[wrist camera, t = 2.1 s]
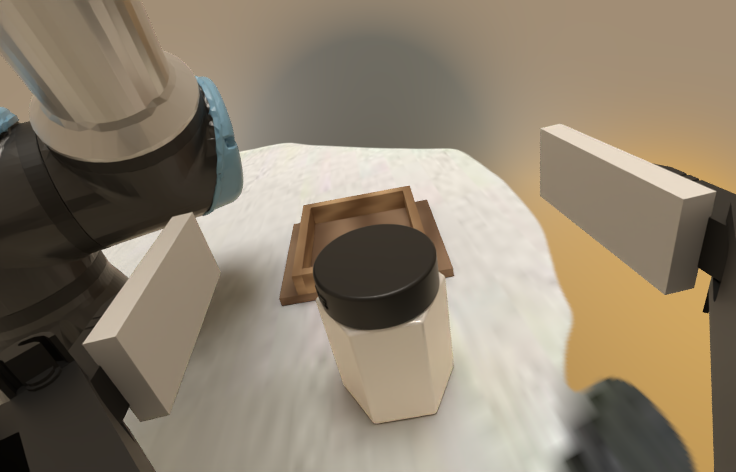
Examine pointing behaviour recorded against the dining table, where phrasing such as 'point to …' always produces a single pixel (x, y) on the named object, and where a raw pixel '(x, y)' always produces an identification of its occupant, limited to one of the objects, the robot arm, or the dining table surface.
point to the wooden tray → (345, 216)
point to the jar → (386, 319)
